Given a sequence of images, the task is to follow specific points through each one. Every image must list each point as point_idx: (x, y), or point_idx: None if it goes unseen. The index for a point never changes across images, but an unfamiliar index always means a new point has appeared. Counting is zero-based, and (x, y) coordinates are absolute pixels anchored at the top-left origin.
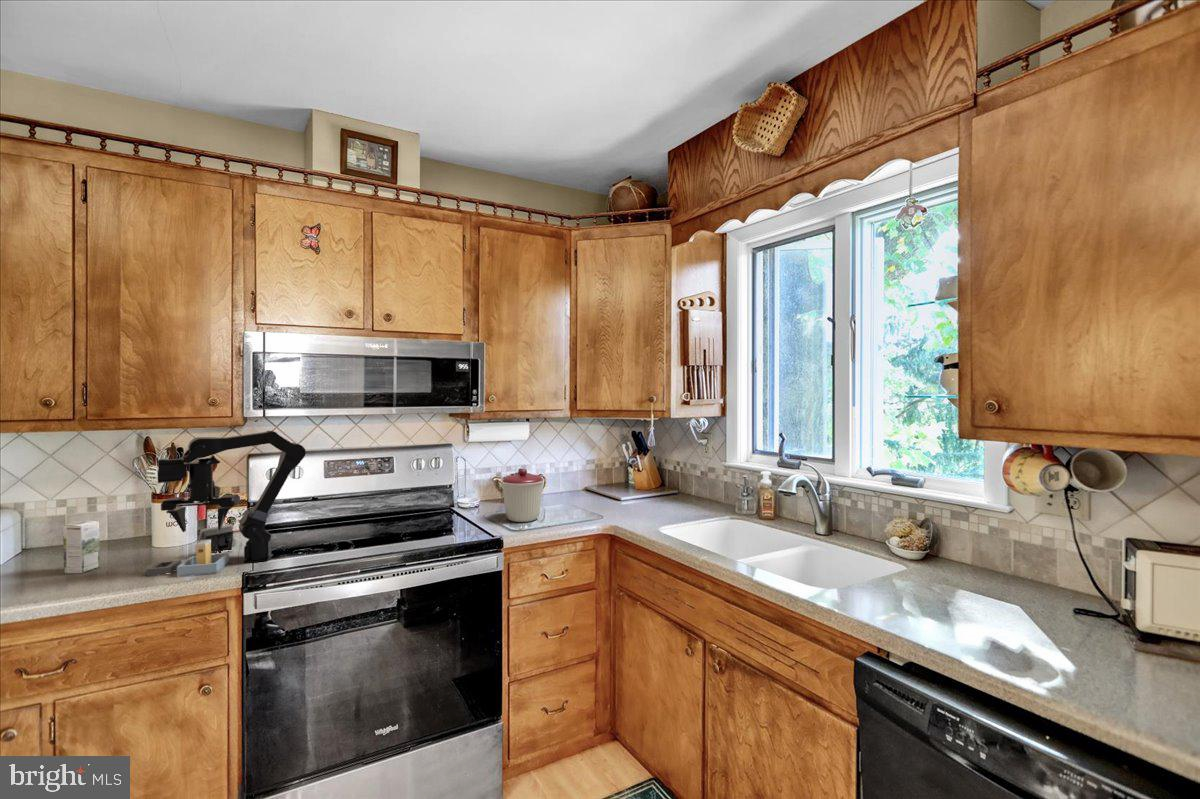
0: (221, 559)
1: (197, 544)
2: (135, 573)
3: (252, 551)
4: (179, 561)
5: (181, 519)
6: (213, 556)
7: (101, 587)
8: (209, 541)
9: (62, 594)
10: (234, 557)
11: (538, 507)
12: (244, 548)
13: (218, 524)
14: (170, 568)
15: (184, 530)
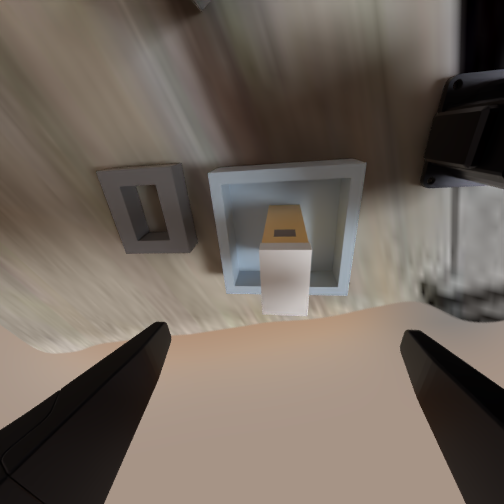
0: (353, 252)
1: (270, 312)
2: (83, 207)
3: (493, 185)
4: (174, 180)
5: (106, 471)
6: (299, 178)
7: (96, 297)
8: (310, 267)
9: (56, 315)
10: (360, 59)
11: None
12: (461, 165)
13: (428, 409)
14: (190, 249)
15: (167, 344)
